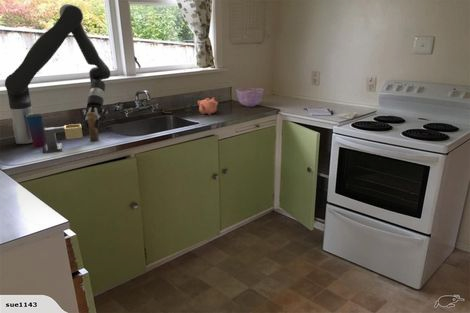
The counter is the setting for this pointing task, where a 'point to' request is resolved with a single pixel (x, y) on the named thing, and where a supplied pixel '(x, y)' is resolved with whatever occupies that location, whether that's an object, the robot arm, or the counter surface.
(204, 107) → the orange lumpy ball
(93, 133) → the rail post
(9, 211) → the counter surface
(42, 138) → the cup
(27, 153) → the counter surface
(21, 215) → the counter surface
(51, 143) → the cup bracket
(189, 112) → the counter surface
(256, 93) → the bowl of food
